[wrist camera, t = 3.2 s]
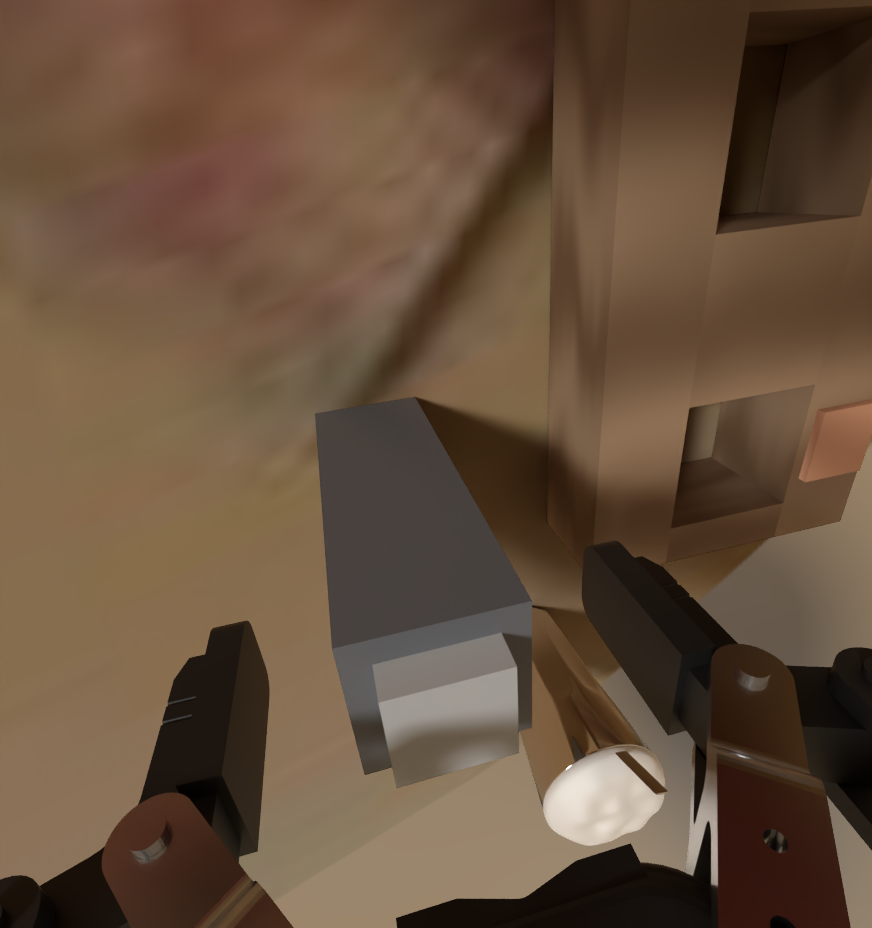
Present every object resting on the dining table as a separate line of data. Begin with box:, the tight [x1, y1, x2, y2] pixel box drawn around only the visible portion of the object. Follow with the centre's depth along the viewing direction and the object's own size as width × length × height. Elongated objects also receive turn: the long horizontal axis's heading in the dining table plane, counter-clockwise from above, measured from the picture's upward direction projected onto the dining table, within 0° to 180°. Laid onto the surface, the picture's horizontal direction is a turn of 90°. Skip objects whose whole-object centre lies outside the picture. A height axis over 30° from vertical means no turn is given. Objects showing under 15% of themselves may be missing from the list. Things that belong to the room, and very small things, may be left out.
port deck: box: [547, 0, 872, 569], centre depth 18 cm, size 18×11×4 cm, turn 5°
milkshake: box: [520, 607, 668, 846], centre depth 21 cm, size 5×5×10 cm
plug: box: [315, 397, 532, 788], centre depth 14 cm, size 4×4×12 cm
